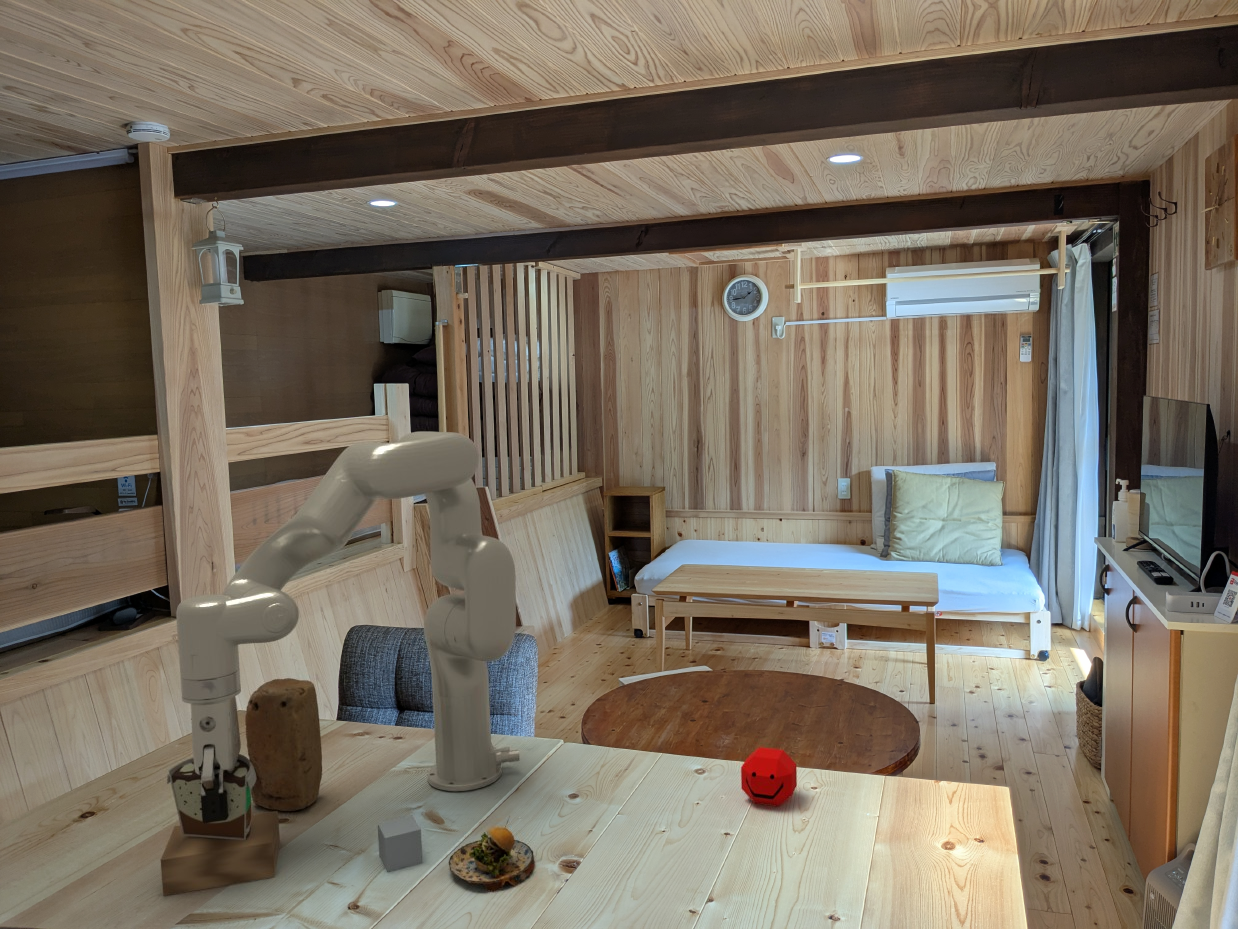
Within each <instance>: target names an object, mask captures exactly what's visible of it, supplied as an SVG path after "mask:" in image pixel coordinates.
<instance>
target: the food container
mask: <svg viewBox="0 0 1238 929" xmlns="http://www.w3.org/2000/svg"><path fill="white" fill-rule="evenodd" d="M217 769H220V765H217V766H214V770H217ZM214 777H215V778H214V779H217V780H218V781H219V774H218V775H214ZM255 782H256V773H255V770H254V767H253V765H252V763H251V762H250V760H249V757H247V756H245V754H244V755H243V754H242V753H239V756H238V759H237V762H236V765H235V767H234V768H233V769H232V770H231V771H228V770H224V790H227V803H228V818H227V820H224V821H217V822H210V823H203V821H202V807H201V775H199V774H197V773H196V772H195V767H194V758H193V757H191V758H188V759H185V760H184V761H181V762H179V763H177V764H176V765H174V766H173V767H171V768H170V769H169V770H168V774H167V775H166V784H167V785H168V784H169V783H170V784H171V789H172V794H173V798H174V802H175V807H176V812H177V816H178V820H179V826H181V830H182V835H183V836H193V837H207V838H220V839H233V840H246V839H247V838H248V837H249V835H250V831H251V815H252V795H251V789H252V787H253V786H254V784H255Z"/></svg>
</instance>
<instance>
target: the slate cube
mask: <svg viewBox="0 0 1238 929" xmlns="http://www.w3.org/2000/svg"><path fill="white" fill-rule="evenodd" d="M377 837H378V839H377V840H378V856H379V858H380V860H381V862H382V864H383V867H384V869H385V871H386V873H389V872H393V871H397V870H401V869H404V868H408V867H412V866H416V865H420V864H423V863H424V861H423V846H422V845H423V844H422V842H423V841H422V829H421V827H420V825H419V824H418V822H417V820H416V819H415V817H414V816H413V814H411V815H405V816H402V817H398V818H394V819H393V818H392V819H389V820H385V821H380V822H377Z"/></svg>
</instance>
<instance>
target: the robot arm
mask: <svg viewBox="0 0 1238 929" xmlns="http://www.w3.org/2000/svg"><path fill="white" fill-rule="evenodd" d="M479 455H480V454H479V451H478V448H477V446H476V444H475V442H474V441H473V440H472V439H471V438H469V437H468V436H467V435H464V434H462V433H459V432H450V431H414V432H410V433H407V434H405V435H403V436H401V437H400V439H398V441H397V442H375V441H373V442H371V441H366V442H365V441H363V442H362V441H361V442H356V443H352V444H350V445H349V446H348V447H346V448H345V449H344V450H343V451H342V452H341V453H340V454H339V456H338V457H337V458H336V460H335V461H334V462H333V464H332V465H331V466H330V467H329V469H328V471H326V474H324V475H323V477H322V478H321V480H320V481H319V483H318V484H317V485H316V487H315V488H314V489H313V491H312V492H311V494H310V495H309V497H307V499H306V500H305V502H304V503H303V504H302V506H301V507H300V508H299V509H298V511H297V512H296V513H295V515H294V516H293V517H291V518H290V519H289V520H288V521H287V522H285V523H284V524H282V525H281V526H280V527H279V528H278V529H277V530H276V531H275V532H273V533H272V534H271V535H270V536H269V537H267V538H266V539H265V540H264V541H263V542H261V544H259V545H258V546H257V547H255V549H254V550H253V551H252V552H251V554H249V556H248V557H247V558H246V559H245V561H244V562H243V563H242V564H241V565H240V567H239V568H238V570H237V571H236V572H235V574H234V575H233V577H232V578H231V579H230V580H229V582H228V583H227V585H226V587H225V588H224V590H223V592H222V594H217V593H216V594H202V595H198V596H193V597H189V598H187V599H186V598H185V599H184V600H182V601H181V602H180V603H179V604H178V605H177V608H176V612H175V613H176V629H177V630H176V631H177V644H178V661H179V674H180V687H181V688H180V690H181V701H182V702H183V703H185V704H189V705H190V714H191V715H190V716H191V717H190V721H191V722H190V723H191V741H192V742H191V744H192V754H193V755H192V756H193V757H192V758H194V767H195V772H196V773H197V774H199V775H201V807H202V821H203V823H210V822H217V821H224V820H227V818H228V803H227V790H224V770H228V771H231V770H232V769H233V768H234V767H235V765H236V762H237V759H238V756H239V754H241V753H240V752H241V749H242V748H241V747H242V746H241V744H242V743H241V742H242V741H241V732H240V726H239V713H238V706H237V698H236V696H238V695H240V694H241V691H242V685H241V672H240V671H241V670H240V654H239V652H240V651H239V645H247V644H248V645H249V644H263V643H265V644H266V643H271V642H272V643H273V642H277V641H279V640H282V639H284V638H286V637H287V636H288V635H290V634H291V633H292V632H293V630H294V629H295V628H296V626H297V624H298V623H299V618H300V612H299V611H300V610H299V606H298V605H297V602H296V600H294V598H293V597H292V596H290V594H289V593H287V592H284V591H283V588H284V587H285V586H286V585H287V583H288V582H289V581H290V580H291V578H293V577H294V576H295V575H296V574H297V573H298V572H300V571H301V570H302V569H304V568H306V566H308V565H309V564H311V563H313V562H316V561H318V560H321V559H323V558H325V557H328V556H329V555H330V556H331V555H332V554H334V553H336V552H338V551H339V550H341V549H342V548H344V547H345V546H346V544H347V543H348V542H349V540H350V539H351V537H352V536H353V534H354V533H355V531H356V530H357V528H358V527H359V526H360V524H361V523H362V521H364V519H365V517H366V516H367V514H368V513H369V511H370V510H371V508H372V507H373V505H375V503H376V501H377V500H378V499H382V500H399V499H404V498H411V497H417V496H421V495H424V497H425V499H426V502H427V505H428V511H429V512H428V513H429V532H430V533H429V534H430V535H429V537H430V540H429V541H430V543H429V544H430V545H429V546H430V569H431V573H432V576H433V578H434V579H435V580H436V581H437V582H438V583H440V584H441V585H442V586H444V587H448V588H452V589H455V590H459V591H464V595H463V594H459V593H458V594H457V593H456V594H454V593H453V594H451V593H450V594H445V595H442V596H440V597H438V598H437V599H435V600H434V601H433V602H432V603H431V604H430V606H429V607H428V608H427V610H426V612H425V615H424V621H423V634H424V639H425V643H426V644H425V645H426V648H427V652H428V656H429V664H430V672H431V681H432V682H431V684H432V688H431V689H432V706H433V707H432V708H433V711H432V712H433V725H434V726H433V727H434V729H433V730H434V745H435V746H434V747H435V764H433V765H432V767H430V768H429V770H428V772H427V782H428V783H429V784H430V785H431V786H432V787H433V788H435V789H438V790H441V791H447V792H465V791H466V792H467V791H472V790H477V789H480V788H484V787H487V786H489V785H491V784H493V783H494V782H496V781H497V780H498V779H499V778H500V777H501V775H502V771H503V770H502V769H503V767H502V764H503V763H513V762H514V763H515V762H519V761H520V760H521V758H520V751H519V749H513V750H511V749H510V748H511V747H510V746H506V747H500V748H497V747H494V745H493V743H492V733H491V732H492V731H491V726H492V725H491V710H490V709H491V708H490V706H491V705H490V689H489V687H490V683H489V682H490V680H489V670H488V664H487V662H488V663H489V662H495V661H497V660H500V659H501V658H503V657H504V656H505V655H506V654H507V653H508V652H509V651H510V649H511V647H512V646H513V642H514V638H515V635H516V628H517V626H516V625H517V598H516V597H517V586H516V585H517V584H516V577H517V576H516V566H515V561H514V558H513V555H512V553H511V551H510V549H509V548H508V546H507V545H506V544H505V543H504V542H502V540H499V539H498V538H495V537H493V536H492V537H491V536H489V535H488V536H487V535H484V534H483V530H482V517H481V503H480V497H479V494H478V493H479V492H478V489H477V487H476V484H475V483H474V481H473V479H472V478H473V477H474V475H475V474H476V472H477V469H478V467H479V463H480V456H479ZM217 765H220V769H217V770H214V766H217ZM218 774H219V781H218V780H217V779H214V778H215V777H214V775H218Z"/></svg>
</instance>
